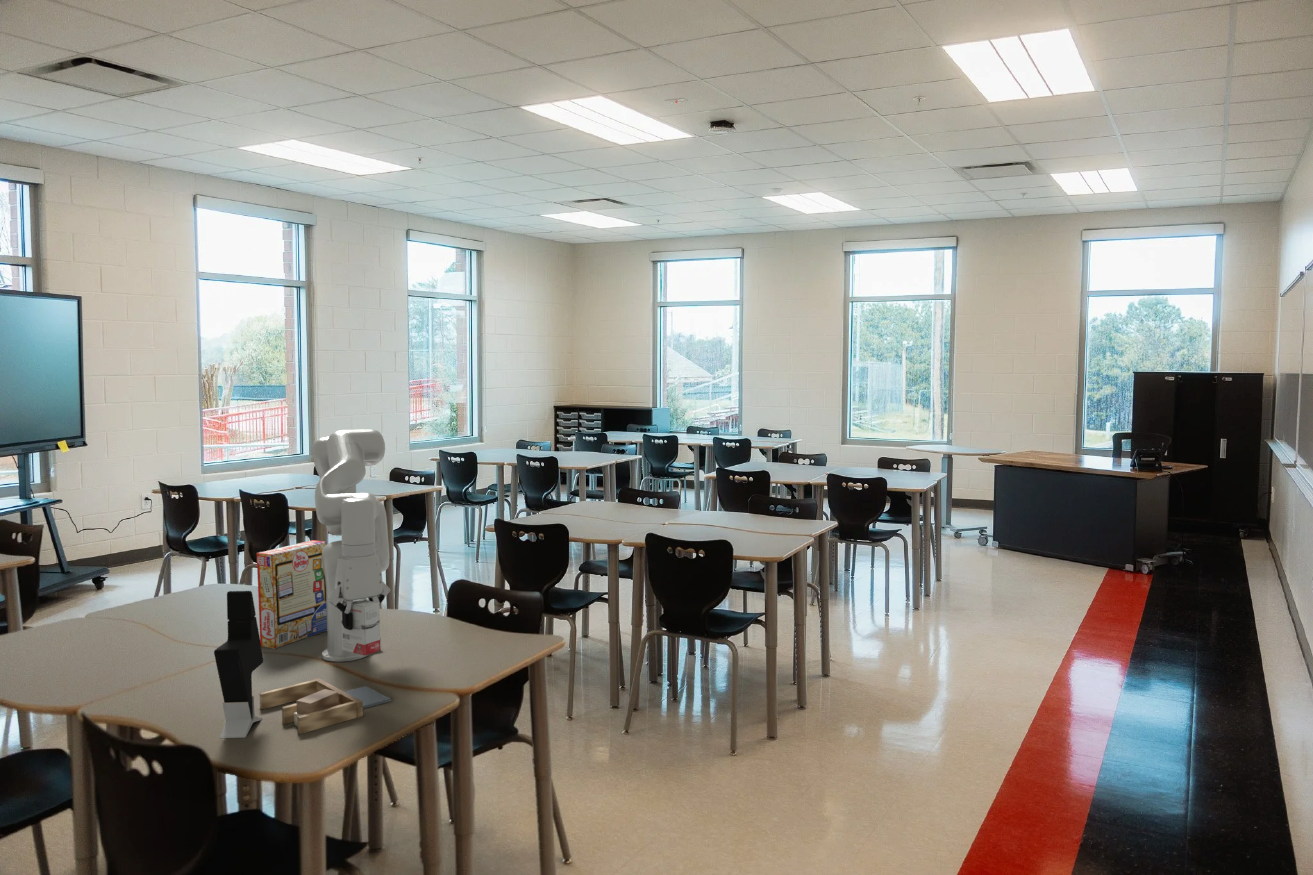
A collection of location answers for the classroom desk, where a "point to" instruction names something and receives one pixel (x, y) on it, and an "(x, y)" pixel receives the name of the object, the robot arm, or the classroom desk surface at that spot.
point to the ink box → (362, 628)
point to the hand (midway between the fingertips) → (360, 625)
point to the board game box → (291, 593)
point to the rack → (315, 720)
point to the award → (239, 664)
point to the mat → (368, 696)
